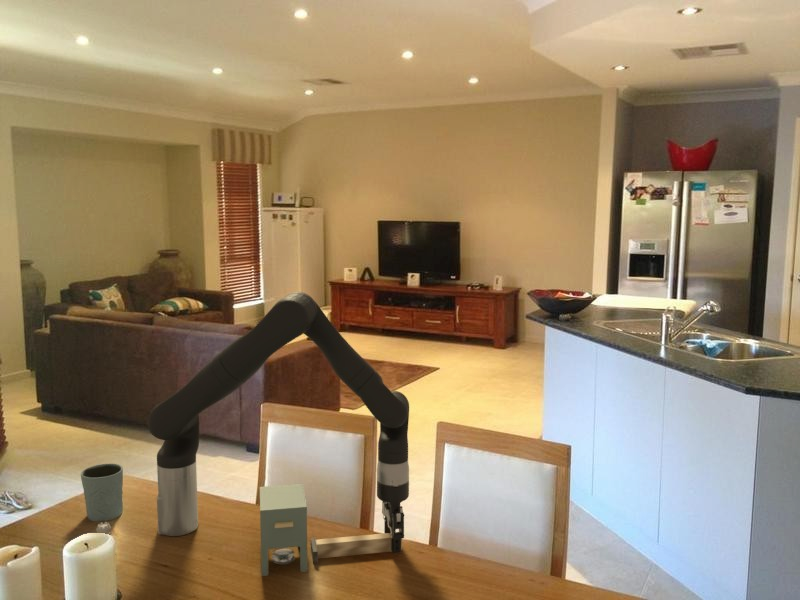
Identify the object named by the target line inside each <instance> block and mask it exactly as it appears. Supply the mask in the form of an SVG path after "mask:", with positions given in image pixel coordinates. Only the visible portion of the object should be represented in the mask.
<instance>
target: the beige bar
mask: <svg viewBox="0 0 800 600" xmlns="http://www.w3.org/2000/svg"><path fill="white" fill-rule="evenodd" d="M402 550H403V538H401V551H402ZM388 552H392V551H391V533H374V534H362V535H353V536H351V535H350V536H340V537H331V538H321V539H320V538H319V539H316V537H315V536H313V537H310V553H311V560H312V564H313V565H316V564H319V562H318V559H325V558H326V559H327V558H335V557H346V556H357V555H367V554H368V555H369V554H377V553H388Z"/></svg>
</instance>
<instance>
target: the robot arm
mask: <svg viewBox="0 0 800 600" xmlns="http://www.w3.org/2000/svg"><path fill="white" fill-rule="evenodd" d="M302 335H305V336H306V337H307V338H309V339H310V340H311V341H312V342H313V343H314V344H315V345H316V346H317V348H319V349H320V352H322V354H323V356H324V357H325V358H326V360H327V362H328V363H329V365H330V367H331V368H332V370H333V372H334V373H335V374H336V376H337V377H338V378H339V380H341V381H342V382H343V383H344V384H345V385H346V386H347V388H349V389H350V390H351V391H352V392H353V393H354V394H355V395H356V396H357V397H359V398H360V400H361V401H362V402H363V404H364V405H365V407H366V408H367V409H368V411H369V412H370V414H371V415H372V416H373V417H374V418H375V419H376V420H377V421H378V422H379V427H380V430H379V437H378V442H377V444H378V445H377V451H378V452H377V466H376V497H377V499H379V500H380V501H381V502H382V503H381V504H382V506H381V508H382V509H381V510H382V511H381V513H382V515H383V516H382V517H383V518H382V519H383V521H384V524H383V525H384V531H383V532H384V533H391V551H390V552H391V553H392V554H397V553H399V554H400V553H401V552H402V550H401V538H402V539H405V514H404V510H403V506H402V505H401V503H402V502H404V501H406V500H408V498H409V496H410V465H409V464H410V463H409V440H408V434H409V433H408V431H409V421H410V420H409V419H410V402H409V399H408V398H407V396H406V395H405V394H404V393H402V392H400V391H398V390H392V391H391V390H390V389H389V388H388V387H387V386H386V384H385V383H384V381H383V378H382V376H381V374H380V373H378V371H376V370H375V369H374V367H372V365H370V364H369V362H367V360H365V359H364V358H363V357H362V356H361V354H359V353H358V352H357V351H356V350H355V349H354V348H353V347H352V346H351V345H350V343H349V342H348V341H347V339H345V338H344V337H343V335H342V334H341V333H340V332H339V331H338V329H337V328H336V327H335V326H334V324H333V323H332V322H331V320H330V319H329V318H328V317H327V315H326V314H325V313H324V311H323V310H322V308H321V307H320V306H319V304H318V303H317V302H316V300H315V299H313V297H312V296H311V295H309V294H307V293H305V292H302V291H293V292H290V293H288V294H287V295H285V296H284V297H282V298H280V299H279V300H278V301H276V303H275V304H274V305H273V306H272V307H271V309H270V310H269V311H268V312H267V314H265V315H264V316H263V318H262V319H261V320H260V321H259V322H258V323H256V325H255V326H254V327H253V328H252V329H250V330H249V331H248V332H247V333H245V334H244V335H242V336H241V337H239V338H237V339H235V340H234V341H233V342H231V343H230V344H229V345H227V346H226V347H224V348H223V349H222V350H221V351H220V352H219V353H218V354H216V355H215V356H214V357H212V358H211V360H209V361H208V362H207V363H206V364H205V365H204V366H203V367H202V368H201V369H199V371H198V372H197V373H196V374H195V375H194V376H193V377H192V378H191V379H190V380H188V382H187V383H186V384H185V385H184V386H183V387H181V388H180V389H179V390H177V391H176V392H174V393H173V394H172V395H171V396H169V397H168V398H167V399H165V400H164V401H162V402H160V403H158V404H157V405H155V406H154V408H153V409H152V410H151V411H150V414H149V417H148V420H147V427H148V431H149V433H150V434H151V436H153V437H154V438H156V439H159V440H162V441H163V443H162V445H161V447H160V448H159V449H158V451H157V453H156V465H157V466H156V470H157V472H156V473H157V497H156V511H157V513H156V515H157V532H158V533H157V534H158V535H163V536H169V537H177V536H184V535H189V534H190V533H193V532H194V531H196V530H197V528H198V527H199V515H198V514H199V511H198V503H199V502H198V481H197V478H198V477H197V476H198V474H197V473H198V472H197V453H198V450H199V445H200V414H201V413H202V412H204V410H206V409H208V408H210V407H211V406H213V405H215V404H217V403H218V402H220V401H221V400H223V399H225V398H226V397H228V396H229V395H231V394H232V393H234V392H235V391H237V390H238V389H239V388H240V387H241V386H243V385H244V384H245V383H247V381H249V380H250V379H251V378H252V377H253V376H254V375H256V373H257V372H258V371H259V370H260V369H261V368H262V367H263V365H264V364H265V363H266V362H267V360H269V358H270V357H272V355H273V354H275V353H276V352H278V351H279V350H280V349H282V348H283V347H284V346H286V345H287V344H288V343H291V342H292V341H293V340H296V339H297V338H299V337H300V336H302ZM397 530H398V531H397ZM384 533H383V534H384Z"/></svg>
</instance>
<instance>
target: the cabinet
mask: <svg viewBox="0 0 800 600" xmlns="http://www.w3.org/2000/svg"><path fill="white" fill-rule="evenodd" d="M307 506H308V505H307V501H306V495H305V488H304V484H303V483H295V484H293V483H292V484H282V485H280V484H279V485H268V486H267V485H266V486H260V487H259V510H260V513H259V518H260V519H259V520H260V521H259V522H260V565H261V566H260V567H261V570H260V571H261V572H260V573H261V576H262V577H263V576H264V577H266V576H269V550H278V549H289V548H299V563H300V564H299V565H300V566H299V567H300V569H299V570H300V572H301V573H304V572H305V573H306V572H308V570H309V569H308V507H307Z"/></svg>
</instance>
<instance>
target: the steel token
mask: <svg viewBox="0 0 800 600" xmlns="http://www.w3.org/2000/svg"><path fill="white" fill-rule="evenodd" d="M271 558H272V559H271V560H272V563H274V564H275V565H279V566H285V565H288V564H291V563H293V562H294V561H295V551H294V550H292V549H290V548H278V549H275V550H274V551H273V553H272V557H271Z"/></svg>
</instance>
